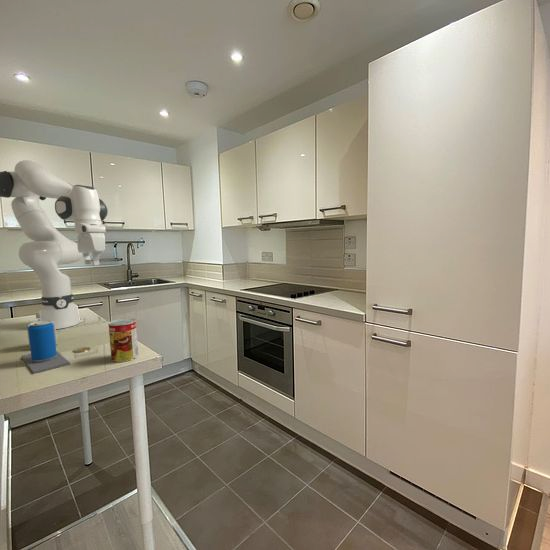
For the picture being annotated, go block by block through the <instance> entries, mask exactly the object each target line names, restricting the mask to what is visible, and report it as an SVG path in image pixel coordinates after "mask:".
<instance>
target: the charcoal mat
mask: <svg viewBox="0 0 550 550" xmlns="http://www.w3.org/2000/svg"><path fill="white" fill-rule="evenodd" d="M56 353H57V355H56V356H55V357H54V358H53V359H51V360H48V361H44V362H35V361H33V360H32V359H31V353H28V354H24V355H21V357H22V358H23V359H22V358H21V359H22V360H23V362H24V361H25V362H24V363H25V364H26V365H28V366H29V367H28V366H27V367H28V368H29V370H31V373H32V374H39V373H42V372H46V371H50V370H52V369H57V368H60V367H65V366H69V365H71V362H70V361H69V360H68V359H66V357H64V355H62V354H61V353H59V351H58V350H56Z"/></svg>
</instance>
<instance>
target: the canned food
mask: <svg viewBox="0 0 550 550" xmlns="http://www.w3.org/2000/svg"><path fill="white" fill-rule="evenodd" d="M136 323H137V321H136V319H135V318H120V319H115V320H112V321H109V322H108V332H109V333H108V336H109V346H110V347H109V348H110V357H111V358H110V359H111V362H113V361H116V362H115V363H121V362H120V361H127V360H131V359H134V358H136V357H137V356H138V357H139V347H138V334H137V324H136ZM138 357H137V358H138ZM137 358H136V359H137ZM134 360H135V359H134ZM131 361H132V360H131ZM127 362H128V361H127Z"/></svg>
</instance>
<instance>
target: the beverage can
mask: <svg viewBox="0 0 550 550" xmlns="http://www.w3.org/2000/svg"><path fill="white" fill-rule="evenodd" d="M28 325H30V326H29V327H28V331H27V334H28V333H29V340H28V343H29V342H30V347H29V349H30V354H31V359H32V360H33V361H35V362H44V361H48V360H51V359H53V358H54V357H55V356H56V355H57V353H56V351H57V345H56V344H55V335H54V326H53V324H52V323H51V321H49V320H46V321H38V320H37V321H33V322H30V323H29V324H28Z"/></svg>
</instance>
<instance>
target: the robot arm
mask: <svg viewBox="0 0 550 550" xmlns="http://www.w3.org/2000/svg"><path fill="white" fill-rule="evenodd" d="M0 198H5V199H6V198H7V199H9V198H13V199H12V201H11V204H10V205H11V209H12V212H13V215H14V217H15V220H16V221H17V223H18V225H19V227H20V228H21V230H22V232H23V233H24V235H25V236H26V237H27V238H29V239H30V240H31V241H29V242H26V243H23V244H21V246H19V248H18V257H19V260H20V261H21V262H22V263H23V264H24V265H26V266H27V267H29V268H30V269H32V271H33V272H34V273H35V274H36V275H37V278H38V281H39V284H40V290H41V298H40V302H41V308H40V310H39V311H38V312H37V313H36V314H35V317H36V320H37V322H38V321H46V320H49V321H53V322H54V323H55V328H56V330H58V329H59V330H60V329H65V328H66V329H67V328H71V327H73V326H76V325H78V324H80V323H84V319H83V318H81V317H80V311H79V306H78V305H77V304H76V303H75V302H74V294H73V293H72V285H71V278H70V276H68V275H67V274H66V273H64V272H63V273H62V272H61V271H60V269H59V266H60V265H62V266H63V265H70V264H74V263H76V262H79V261H80V260H81V259H82V257H83V260H84V264H85V265H91V264H92V265H93V266H99V265H100V259H101V254H102V253H103V254H104V253H105V250H106V237H105V233H106V227H105V225H103V224H102V222H103V221H104V220H105V219H106V218H107V217H108V212H109V211H108V207H107V205H106V204H105V202H104V201H103V200H102V199H101V198H100V196H99V193H98V191H97V189H96V188H95V187H93V186H87V185H82V184H75V185H72V184H70V183H68V182H67V181H65V180H64V179H61V178H60V177H58V176H56V175H55V174H53V173H52V172H51V171H49V170H48V169H47V168H45V167H44V166H42V165H41V164H39V163H36V162H35V161H32V160H28V159H24V160H20V161H18V162H17V163H16V164H15V166H14V170H13V171H7V170H4V171H0ZM47 198H49V199H56V200H55V202H54V211H55V214H56V215H57V216H58V217H59V218H60V219H61V220H64V221H69V222H74V230H75V231H74V232H75V233H74V234H77V235H76V236H77V238H76V242H75V241H73V240H72V239H69V237H66V236H64V235H63V234H62V233H61V232H60V231H59V230H58V229H57V228H56V227H55V226H54V225H53V222H51V221H50V219H49V217H48V215H47V214H46V213H45V210H44V209H43V208H42V207H41V204H40V200H41V201H45V200H46V199H47ZM91 254H92V260H91V258H90V257H91V256H90V255H91Z"/></svg>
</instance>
